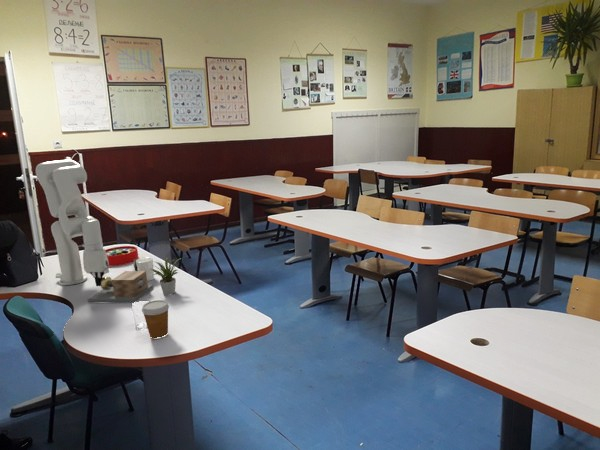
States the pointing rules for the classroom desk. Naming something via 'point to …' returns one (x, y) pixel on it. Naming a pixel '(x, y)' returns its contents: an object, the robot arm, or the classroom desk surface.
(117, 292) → the block
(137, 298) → the base mat
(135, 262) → the mobile phone
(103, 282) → the shaft
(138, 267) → the white cup
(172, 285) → the house plant
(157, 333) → the disposable coffee cup
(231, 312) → the classroom desk surface
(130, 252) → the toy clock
